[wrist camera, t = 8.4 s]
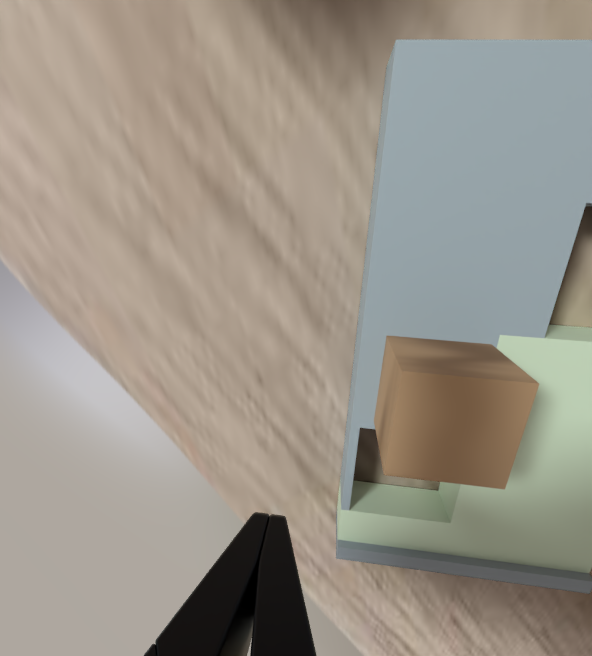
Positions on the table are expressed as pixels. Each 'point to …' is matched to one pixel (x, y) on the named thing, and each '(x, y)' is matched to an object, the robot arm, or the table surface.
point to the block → (450, 411)
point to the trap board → (480, 299)
